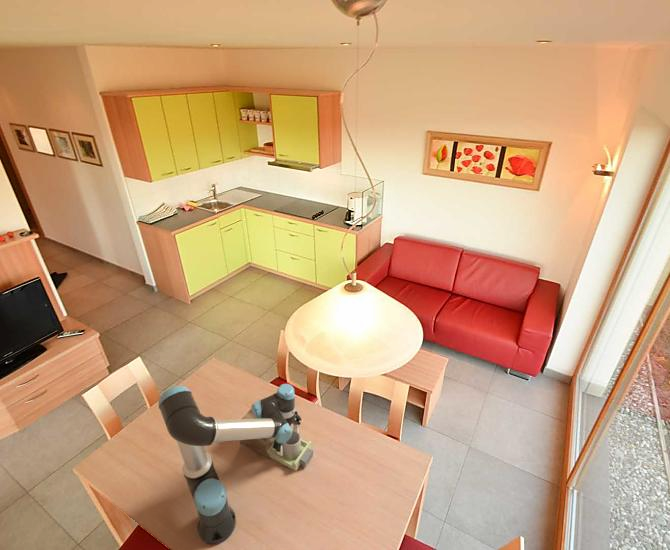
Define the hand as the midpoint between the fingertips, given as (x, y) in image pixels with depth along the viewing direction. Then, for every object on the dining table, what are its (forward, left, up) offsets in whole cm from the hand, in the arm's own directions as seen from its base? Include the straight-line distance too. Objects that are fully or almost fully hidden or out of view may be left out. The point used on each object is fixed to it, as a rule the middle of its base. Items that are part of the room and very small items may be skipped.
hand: (288, 443), depth 189 cm
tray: (0, -2, -7) cm, 7 cm away
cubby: (0, +15, -7) cm, 17 cm away
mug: (0, 0, -6) cm, 6 cm away
